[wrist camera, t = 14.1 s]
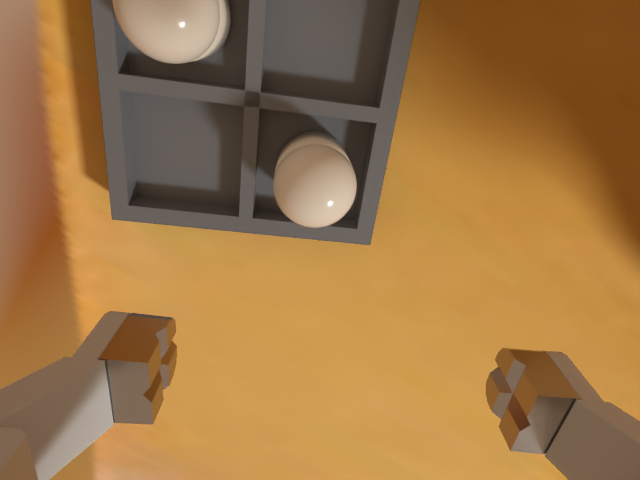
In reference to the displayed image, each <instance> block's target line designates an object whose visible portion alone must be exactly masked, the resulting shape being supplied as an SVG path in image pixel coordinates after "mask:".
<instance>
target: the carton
mask: <svg viewBox="0 0 640 480" xmlns="http://www.w3.org/2000/svg"><path fill="white" fill-rule="evenodd" d="M229 1H230V5H231V9H232V27H231V32H230V35H229V37H228V39H227V41H226V43H225V44H224V46H223V47H222V48H221V49H220V50H219V51H218V52H217V53H216V54H214V55H213V56H211V57H209V58H206V59H202V60H197V61H192V62H187V63H181V64H171V63H164V62H160V61H157V60H155V59H153V58H151V57H149V56H147V55H145V54H144V53H142V52H141V51H140V50H138V49H137V48H136V47H135V46H134V45H133V44H132V43H131V42H130V41H129V39H128V38H127V37H126V36H125V34H124V32H123V31H122V29H121V27H120V25H119V23H118V21H117V19H116V16H115V12H114V8H113V2H112V0H91V10H92V20H93V30H94V41H95V51H96V61H97V71H98V82H99V92H100V102H101V112H102V123H103V133H104V143H105V153H106V164H107V174H108V184H109V194H110V205H111V215H112V220H122V221H132V222H142V223H153V224H163V225H173V226H183V227H193V228H203V229H213V230H223V231H233V232H243V233H253V234H263V235H273V236H283V237H293V238H303V239H313V240H323V241H334V242H344V243H354V244H364V245H370V243H371V239H372V234H373V229H374V224H375V219H376V214H377V209H378V204H379V200H380V195H381V190H382V185H383V180H384V175H385V170H386V165H387V161H388V156H389V151H390V146H391V141H392V136H393V131H394V126H395V121H396V117H397V112H398V107H399V102H400V97H401V92H402V87H403V82H404V78H405V73H406V68H407V63H408V58H409V53H410V48H411V43H412V39H413V34H414V29H415V24H416V19H417V14H418V9H419V4H420V0H229ZM305 131H320V132H324V133H327V134H329V135H331V136H333V137H334V138H336V139H337V140H338V141H339V142H340V143H341V144H342V146H343V147H344V149H345V151H346V153H347V155H348V158H349V160H350V162H351V165H352V167H353V169H354V172H355V175H356V181H357V190H356V195H355V199H354V202H353V204H352V206H351V208H350V209H349V211H348V212H347V213H346V214H345V215H344V216H343V217H342V218H341V219H340V220H338V221H337V222H335V223H333V224H331V225H328V226H325V227H319V228H310V227H305V226H302V225H299V224H297V223H295V222H293V221H292V220H290V219H289V218H288V217H287V216H286V215H285V214H284V213H283V212H282V211H281V209H280V208H279V206H278V204H277V202H276V199H275V196H274V191H273V180H274V174H275V169H276V163H277V158H278V155H279V152H280V150H281V148H282V147H283V145H284V144H285V143H286V142H287V141H288V140H289V139H290V138H292V137H293V136H295V135H297V134H299V133H302V132H305Z"/></svg>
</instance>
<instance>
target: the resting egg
mask: <svg viewBox="0 0 640 480" xmlns="http://www.w3.org/2000/svg"><path fill="white" fill-rule="evenodd" d="M112 2H113V8H114V12H115V16H116V19H117V21H118V23H119V25H120V27H121V29H122V31H123V32H124V34H125V36H126V37H127V38H128V39H129V41H130V42H131V43H132V44H133V45H134V46H135V47H136V48H137V49H138V50H140V51H141V52H142V53H144V54H145V55H147V56H149V57H151V58H153V59H155V60H157V61H160V62H164V63H171V64H181V63H187V62H192V61H197V60H202V59H206V58H209V57H211V56H213V55H214V54H216V53H217V52H218V51H219V50H220V49H221V48H222V47H223V46H224V44H225V43H226V41H227V39H228V37H229V35H230V32H231V27H232V9H231V5H230V1H229V0H112Z"/></svg>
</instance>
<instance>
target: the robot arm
mask: <svg viewBox="0 0 640 480" xmlns="http://www.w3.org/2000/svg"><path fill="white" fill-rule="evenodd" d="M175 333H176V323H175V320H174V318H171V317H162V316H154V315H145V314H136V313H125V312H115V311H110V312H107V313H106V314H104V316H103V317H102V318H101V320H100V321H99V322H98V324H97V325H96V326H95V328H94V329H93V330H92V332H91V333H90V334H89V335H88V337H87V338H86V339H85V341H84V342H83V343H82V345H81V346H80V347H79V349H78V350H77V351H76V353H75V354H74V355H73V357H71V358H70V357H64V358H62V359H60V360H58V361H56V362H54V363H52V364H50V365H48V366H46V367H44V368H42V369H40V370H38V371H36V372H34V373H32V374H30V375H28V376H27V377H24V378H22V379H21V380H18V381H17V382H15V383H13V384H11V385H9V386H7V387H5V388H3V389H1V390H0V480H49V479H50V478H51V477H52V476H54V475H55V474H56V473H57V472H58V471H60V470H61V469H62V468H63V467H64V466H66V465H67V464H68V463H69V462H70V461H71V460H73V459H74V458H75V457H76V456H77V455H79V454H80V453H81V452H82V451H83V450H85V449H86V448H87V447H88V446H89V445H90V444H92V443H93V442H94V441H95V440H96V439H98V438H99V437H100V436H101V435H102V434H104V433H105V432H106V431H107V430H108V429H109V428H111V427H112V426H113V425H114V423H133V424H153V423H154V421H155V419H156V416H157V414H158V412H159V409H160V407H161V404H162V402H163V390H164V389H165V388H166V387H168V386H169V385H170V383H171V380H172V378H173V375H174V370H175V366H176V359H177V346H176V345H175V343H174V342H173V341H172V340H173V337H174V335H175ZM495 361H496V363H497V365H498V367H497V368H496V369H495V370H493V371H492V372H491V373H490V374H489V376H488V379H487V382H486V397H487V402H488V404H489V407H490V409H491V411H492V412H493V413H494V414H496V415H497V416H498V417H499V418H500V419H501V422H500V425H499V428H500V430H501V432H502V434H503V436H504V438H505V440H506V443H507V445H508V447H509V449H510V451H517V452H527V453H536V454H546V455H545V457H546V458H547V459H548V460H549V461H550V462H551V463H552V464H553V465H554V466H555V467H556V468H557V469H558V470H559V471H560V472H561V473H562V474H563V475H564V476H565V477H566V478H567V479H569V480H640V421H638V420H637V419H635V418H634V417H632V416H631V415H629V414H627V413H626V412H624V411H623V410H621V409H620V408H618V407H616V406H615V405H613V404H612V403H610V402H604V401H603V400H602V399H601V398H600V396H599V395H598V394H597V393H596V391H595V390H594V389H593V387H592V386H591V385H590V384H589V382H588V381H587V380H586V379H585V377H584V376H583V375H582V374H581V372H580V371H579V370H578V369H577V367H576V366H575V365H574V364H573V362H572V361H571V360H570V359H569V357H568V356H567V355H565V354H564V353H562V352H555V351H534V350H522V349H510V348H502V349H501V350H500V351H499V352H498V354H497V357H496V359H495Z"/></svg>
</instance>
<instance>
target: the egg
mask: <svg viewBox="0 0 640 480" xmlns="http://www.w3.org/2000/svg"><path fill="white" fill-rule="evenodd" d="M356 190H357V181H356V175H355V172H354V169H353V167H352V165H351V162H350V160H349V158H348V155H347V153H346V151H345V149H344V147H343V146H342V144H341V143H340V142H339V141H338V140H337V139H336V138H334V137H333V136H331V135H329V134H327V133H324V132H320V131H305V132H302V133H299V134H297V135H295V136H293V137H292V138H290V139H289V140H288V141H287V142H286V143H285V144H284V145H283V147H282V148H281V150H280V152H279V155H278V158H277V163H276V169H275V174H274V180H273V191H274V196H275V199H276V202H277V204H278V206H279V208H280V209H281V211H282V212H283V213H284V214H285V215H286V216H287V217H288V218H289V219H290V220H292V221H293V222H295V223H297V224H299V225H302V226H305V227H310V228H319V227H325V226H328V225H331V224H333V223H335V222H337V221H338V220H340V219H341V218H342V217H343V216H344V215H345V214H346V213H347V212H348V211H349V209H350V208H351V206H352V204H353V202H354V199H355V195H356Z"/></svg>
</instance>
